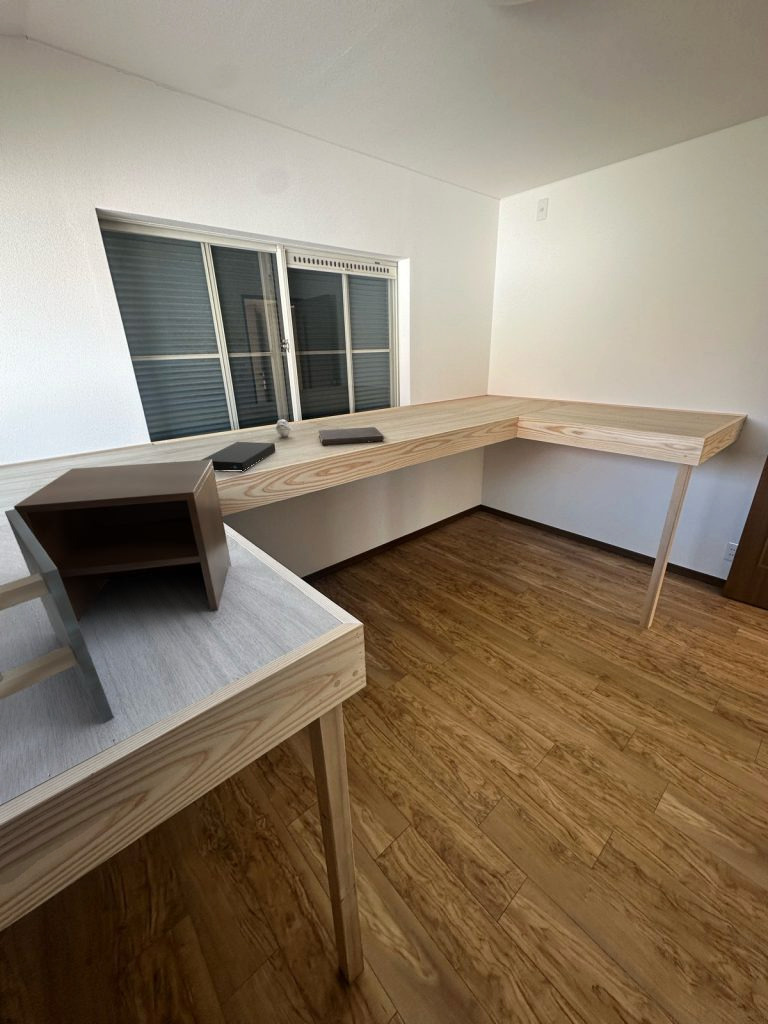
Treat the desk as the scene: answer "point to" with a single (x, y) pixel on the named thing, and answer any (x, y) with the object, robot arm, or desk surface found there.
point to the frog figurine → (283, 428)
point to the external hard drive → (240, 455)
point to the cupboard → (130, 526)
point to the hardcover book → (349, 435)
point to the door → (61, 617)
